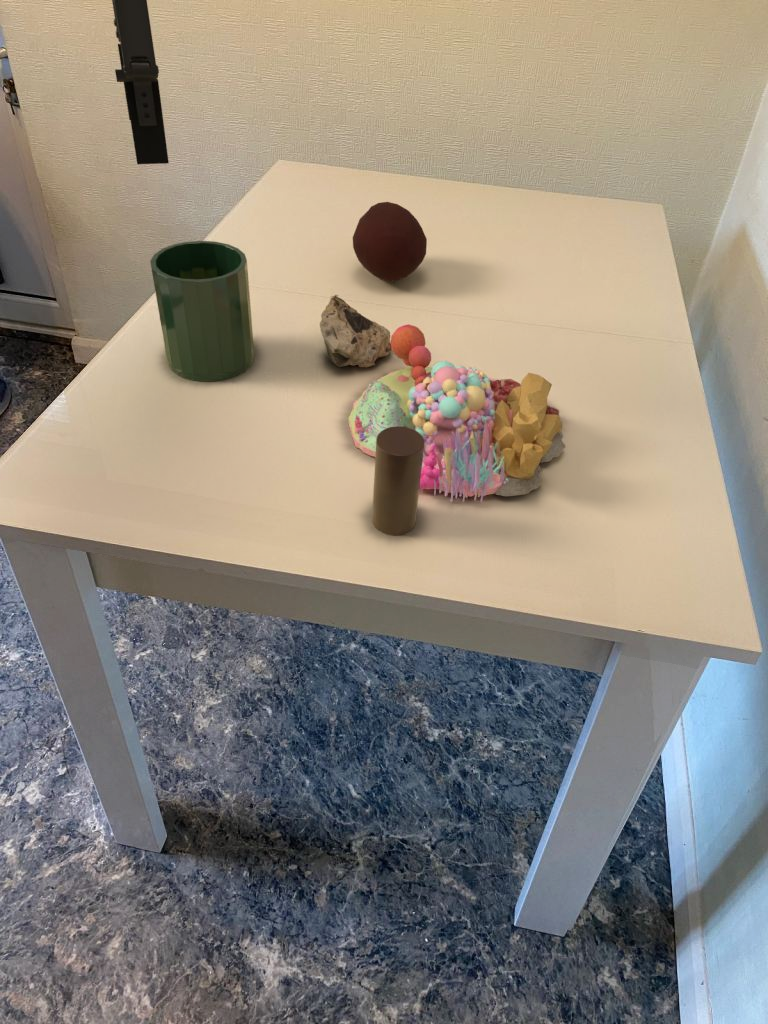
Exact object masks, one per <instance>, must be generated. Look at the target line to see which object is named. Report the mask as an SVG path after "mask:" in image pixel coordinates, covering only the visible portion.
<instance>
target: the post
mask: <svg viewBox="0 0 768 1024" xmlns="http://www.w3.org/2000/svg"><path fill="white" fill-rule="evenodd" d="M423 452H424V439H423V437H422V435H421V434H420V433H419V432H417V431H415V430H413V429H411V428H407V427H400V426H396V427H390V428H387V429H384V430H383V431H381V432H380V433H379V434H378V436H377V439H376V456H375V457H374V473H373V475H374V476H373V492H372V493H373V494H372V508H371V509H372V512H371V521H372V524H373V526H374V527H375V528H376V530H378V531H379V532H381V533H383V534H386V535H391V536H401V535H404V534H407V533H409V532H410V531H412V530H413V529H414V527H415V526H416V522H417V513H418V505H419V497H420V489H419V488H420V479H421V470H422V461H423Z"/></svg>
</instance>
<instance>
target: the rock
mask: <svg viewBox="0 0 768 1024" xmlns="http://www.w3.org/2000/svg"><path fill="white" fill-rule="evenodd" d="M320 315H321V320H320V322H319V328H320V333H321V336H322V339H323V343H324V346H325V349H326V352H327V355H328V358H329V359H330V361H331V362H332V363H334V364H335V366H337V367H339V368H342V367H345V366H349V365H350V366H357V365H358V367H359V368H370V367H372V366H375V365H376V364H375V362H376V360H378V358H383V357H387V356H388V355H389V354H390V352H392V348H391V332H390V330H389V329H388V328H386V327H385V326H383V325H381V324H379V323H377V322H376V321H373V320H371V319H369V318H367V317H365V316H364V315H362V314H361V313H359V312H358V311H357V309H355V308H354V307H352V306H350V305H349V304H348V303H347V302H346V301H345V300H343V298H341V297H339V295H338V294H335V295H331V296H330V299H329V301H328V304H326V305H325V309H324V310H323V311H322V312H321V314H320Z"/></svg>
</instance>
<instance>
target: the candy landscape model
mask: <svg viewBox="0 0 768 1024" xmlns="http://www.w3.org/2000/svg"><path fill="white" fill-rule="evenodd" d="M390 343H391V348H392V350H391V352H393V354H394V355H395V356H397V358H398V359H400V360H402V361H403V364H404V365H405V366H406V367H402V368H399V369H398V370H395V371H394V370H393V371H390V372H388V373H387V374H386V375H384V376H382V377H379V378H378V379H375V380H372V382H370V383H369V384H368V386H367V387H366V389H365V390H363V391H362V394H361V395H360V396H359V398H358V399H355V401H354V402H353V403H352V410H351V411H350V415H348V418H347V421H348V427H349V430H350V433H351V437H352V439H353V443H354V445H355V447H356V448H357V449H359V450H361V452H362V453H363V454H366V455H368V456H371V457H373V458H375V456H376V439H377V436H378V434H379V433H380V432H381V431H383V430H384V429H387V428H390V427H396V426H400V427H407V428H411V429H413V430H415V431H417V432H419V433H420V434H421V435H422V437H423V439H424V452H423V461H422V470H421V479H420V488H419V490H434V492H433V496H436V495H437V493H436V492H437V490H438V493H439V494H441V493H442V492H444V496H445V497H448V495H449V494H450V503H453V501H454V497H455V499H456V500H457V499H458V496H459V497H462V503H464V502H465V498H466V499H468V497H473V496H474V499H473V501H476V500H477V497H478V498H480V503H483V499H484V497H486V496H488V495H493V494H495V495H497V496H502V497H513V496H515V497H516V496H523V495H528V494H530V492H531V491H532V490H537V489H539V487H540V486H541V485H542V484H543V481H542V478H541V477H540V474H541V473H542V471H543V470H542V468H541V466H540V463H546V462H547V463H548V462H551V461H552V460H553V458H557V457H559V456H560V455H561V453H563V450H564V449H565V448H566V444H565V443H564V441H563V438H564V435H563V432H562V429H563V423H562V420H561V418H560V409H558V408H556V407H553V406H550V405H548V396H549V394H550V391H551V388H552V386H553V384H552V383H551V382H550V381H549V380H547V379H546V378H545V377H544V376H541V375H539V374H537V373H536V374H535V373H533V372H532V373H531V372H528V373H526V375H525V376H524V377H523V378H522V380H521V382H518V381H515V380H514V379H511V378H503V379H493V378H491V377H488V376H487V374H486V373H485V372H484V371H482V370H480V369H478V368H476V367H471V366H469V367H467V368H466V366H463V365H457V366H455V365H454V364H453V363H452V362H450V361H447V360H441V361H438V362H436V363H435V364H434V365H433V366H432V367H431V366H429V365H431V362H432V353H431V351H430V350H429V347H427V346H426V338H425V335H424V333H423V332H422V330H421V329H420V328H419V327H418V326H415V325H413V324H404V325H401V326H398V327H397V328H396V329H395V330H394V332H393V333H392V335H391V336H390ZM407 366H408V367H407ZM458 493H459V494H458Z"/></svg>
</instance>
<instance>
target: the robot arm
mask: <svg viewBox="0 0 768 1024" xmlns="http://www.w3.org/2000/svg"><path fill="white" fill-rule="evenodd" d="M111 2H112V9H113V15H114V19H113V26H115V29H116V30H115V37H116V38H117V39H118V43H117V48H118V55H119V61H120V68H121V69H114V73H115V78H116V79H115V80H116V82H117V83H123V88H124V94H125V100H126V101H125V102H126V107H127V112H128V113H127V114H128V119H129V121H130V126H131V134H132V139H133V146H134V153H135V159H136V164H137V165H160V164H161V165H163V164H169V163H170V162H169V154H168V147H167V140H166V131H165V130H166V129H165V124H164V123H165V122H164V116H163V108H162V99H161V93H160V91H161V90H160V83H159V79H158V78H159V73H160V71H159V70H160V69H159V65H158V64H157V62H156V61H157V60H156V55H155V48H154V41H153V33H152V28H151V27H152V26H151V20H150V13H149V7H148V6H149V5H148V0H111Z"/></svg>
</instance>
